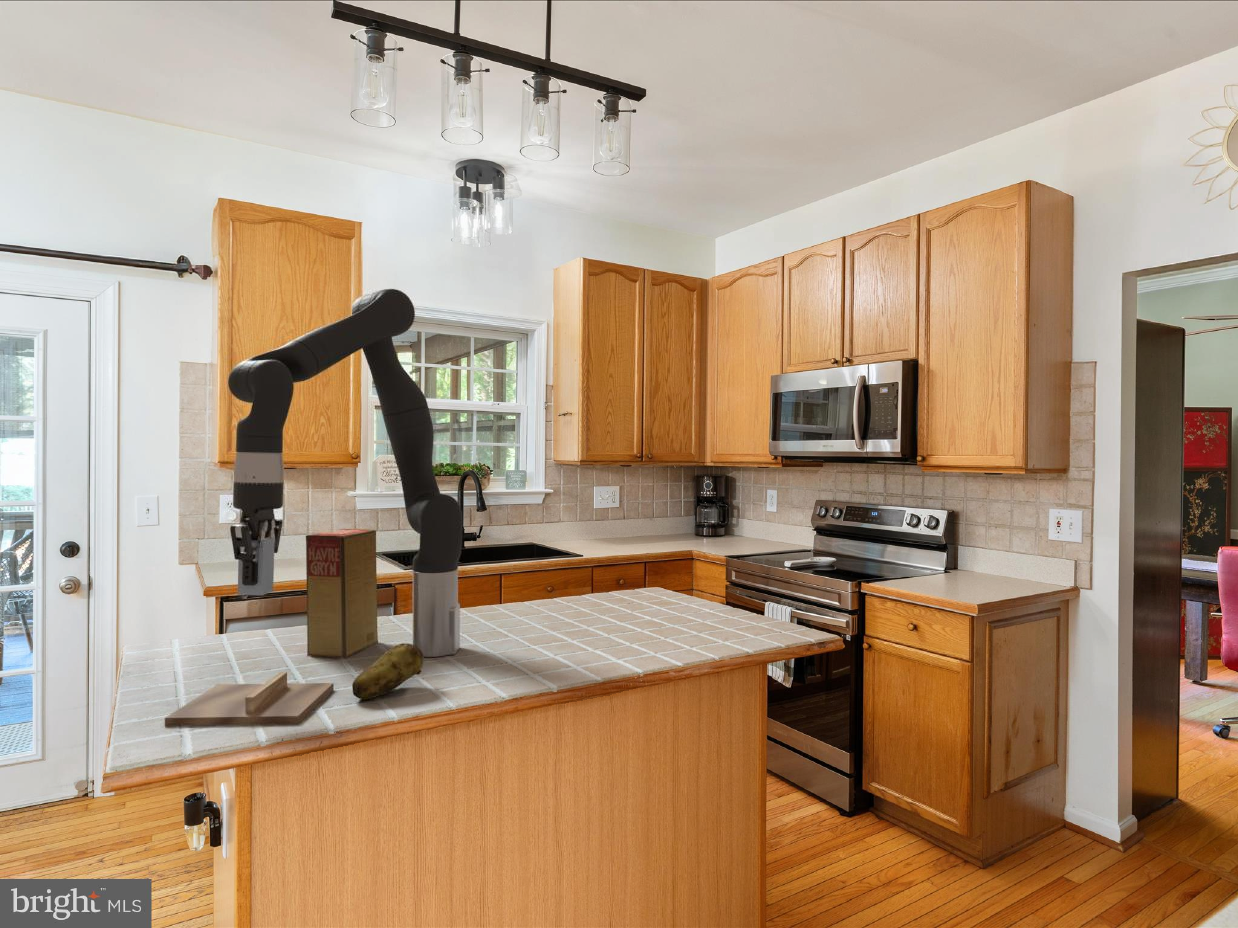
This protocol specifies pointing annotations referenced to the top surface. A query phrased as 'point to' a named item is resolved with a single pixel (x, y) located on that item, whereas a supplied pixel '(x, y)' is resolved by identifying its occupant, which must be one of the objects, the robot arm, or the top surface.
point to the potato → (388, 671)
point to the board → (252, 703)
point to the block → (260, 571)
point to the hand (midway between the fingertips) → (256, 582)
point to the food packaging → (341, 592)
